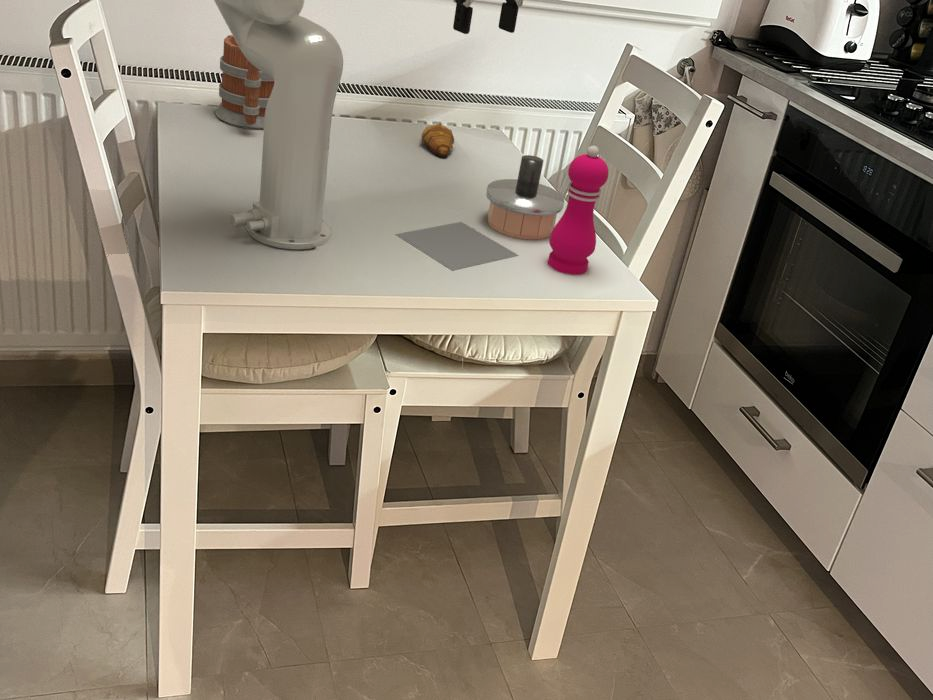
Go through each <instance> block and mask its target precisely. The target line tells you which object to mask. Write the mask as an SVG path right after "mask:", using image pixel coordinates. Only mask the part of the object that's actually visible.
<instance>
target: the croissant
mask: <svg viewBox="0 0 933 700" xmlns="http://www.w3.org/2000/svg"><path fill="white" fill-rule="evenodd" d="M420 137H421V139H422V142H423V144H424V146H425V147H426V148H428V149H429V150H430V152H431V153H432V154H434V155H436V156H438V157H441V158H446V157H447V156H448V155H449V153H450V152H451V150H452V149H453V145H454V143H455V136H454V134H453V130H451V129H449V128H448V127H446V126H444V125H442V124H441V123H438V124H434V125H430V126H426V128H425V129H424V130H423V131H422V133H421V136H420Z"/></svg>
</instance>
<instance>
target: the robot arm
mask: <svg viewBox="0 0 933 700" xmlns="http://www.w3.org/2000/svg"><path fill="white" fill-rule="evenodd" d="M213 1H214V3H215V5H216V7H217V9H218V11H219V13H220V14H221V16H222V18H223V20H224V21H225V24H226V26H227V28H228V29H229V31H230V33H231V35H232V36H233V37H234V39H235V41H236V42H237V44H238V46H239V48H240V49H241V51H242V53H243V54H244V56H245V57H246V58H247V60H248V61H249V62H250V63H251V64H252V65H253V66H255V67H256V68H257V69H259V70H260V71H262V72H264V73H265V74H267V75H269V76H270V77H271V78H273V79H274V87H273V90H272V93H271V95H270V97H269V100H268V103H267V106H266V110H265V116H264V129H262V130H263V136H262V137H263V138H262V151H261V152H262V153H261V155H262V156H261V171H260V172H261V173H260V186H259V187H260V188H259V201H256V202H253V203H252V209H249V210H248V211H246V212H240V213H239V212H238V213H233V214H230V215H229V217H228V223H229V225H230V227H231V228H239V227H244V226H245V228H246V230H247V232H248V234H249V235H250V237H252V238H253V239H254V240H256V241H258V242H259V243H262V244H264V245H267V246H270V247H274V248H279V249H285V250H310V249H313V248H314V249H315V248H317V247H320V246H322V245H325V244H327V243H328V242H329V241H330V240H331V238H332V231H333V230H332V226H330V224H329V223H328V222H327V221H325V220H324V219H323V217H324V208H325V207H324V204H325V197H326V195H325V194H326V182H327V174H328V163H329V162H328V161H329V153H330V142H331V140H330V139H331V130H332V129H331V128H332V119H333V111H334V106H335V102H336V101H335V100H336V97H337V93H338V90H339V86H340V84H341V79H342V75H343V71H344V54H343V52H342V51H343V50H342V48H341V46H340V43H339V42H338V40H337V39H336V38H335V37H334V35H333V34H332V33H330V32H329V30H327V29H326V28H325V27H323V26H322V25H320V24H317V23H316V22H314V21H312V20H310V19H308V18H306V17H304V16H301V15H300V13H301V12H302V11H303V8H304V5H305V0H213ZM474 1H475V0H453V3H455V5H456V6H455V12H454V19H453V26H452V28H453V30H454V31H457V32H459V33H461V34H464V35H468V34H469V33H470V32H471V24H472V17H473V13H474V12H473V11H474V9H473V7H472V6H471V5H472V4H473V2H474ZM523 4H524V0H505V2H502V4H501V9H500V15H499V20H498V28H499V30H500V29H501V30H503V31H505V32H508V33H511V34H512V33H513V34H514V33H515V29H516V26H517V19H518V13H519V8H521V7H522V6H523Z"/></svg>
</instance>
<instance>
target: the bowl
mask: <svg viewBox="0 0 933 700" xmlns="http://www.w3.org/2000/svg"><path fill="white" fill-rule="evenodd" d="M557 215H558V213H557V214H554V215H548V216H533V215H525V214H520V213H516V212H512V211H509V210H506V209H503V208H501V207H499V206H497V205H495V204H493V203H492V202H491V201H490V200H489V208H488V214H487V222H488V224H489V226H490V227H491V228H492V229H493V230H495V231H496V232H498V233H500V234H502V235H506V236H508V237H512V238H515V239H516V238H517V239H520V240H521V239H522V240H532V241H533V240H541V239H546V238H550V236H551V233H552V231H553V229H554V227H555V225H556V220H557Z"/></svg>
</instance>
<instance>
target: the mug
mask: <svg viewBox="0 0 933 700" xmlns="http://www.w3.org/2000/svg"><path fill="white" fill-rule="evenodd" d="M219 59H220V60H219V69H220V71H222V78H221V79H222V80H221V82H220V83H219V86H218V87H219V88H218V96H219V97H220V98H221V103H220V104H219V106H218V108H217V109H216V111H215V114H216V116H217V117H218V119H219V120H220V121H222V122H224V123H226V124H227V125H230V126H234V127H238V128H242V129H250V130H263V129H264V116H265V110H266V106H267V103H268V100H269V97H270V95H271V93H272V90H273V87H274V79H273V78H271V77H270V76H269V75H267V74H265V73H264V72H262V71H260V70H259V69H257V68H256V67H255V66H253V65H252V64H251V63H250V62H249V61H248V60H247V58H246V57H245V56H244V54H243V53H242V51H241V49H240V48H239V46H238V44H237V42H236V41H235V39H234V37H233V35H232V34H228V35H227V36H226V37H224V39H223V55H221V56H220V58H219Z"/></svg>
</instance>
